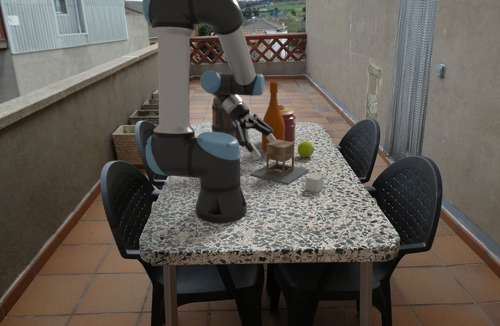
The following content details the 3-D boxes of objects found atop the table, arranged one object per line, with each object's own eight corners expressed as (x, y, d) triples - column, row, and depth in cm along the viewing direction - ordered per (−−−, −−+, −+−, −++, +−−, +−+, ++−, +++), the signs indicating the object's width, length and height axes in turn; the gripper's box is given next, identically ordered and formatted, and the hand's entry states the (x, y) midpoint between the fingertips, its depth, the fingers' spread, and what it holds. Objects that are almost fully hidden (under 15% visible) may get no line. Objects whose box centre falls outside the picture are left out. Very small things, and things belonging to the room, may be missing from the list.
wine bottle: (288, 153, 168) (290, 82, 158) (267, 155, 165) (267, 83, 155) (278, 146, 177) (279, 79, 167) (258, 149, 173) (258, 80, 163)
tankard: (211, 133, 199) (210, 93, 193) (244, 133, 198) (244, 93, 191) (201, 147, 177) (199, 103, 171) (238, 147, 176) (238, 103, 169)
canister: (285, 147, 176) (286, 108, 170) (261, 142, 183) (261, 105, 177) (300, 140, 185) (301, 103, 179) (277, 136, 193) (277, 100, 187)
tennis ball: (301, 153, 168) (301, 138, 165) (315, 156, 164) (316, 140, 162) (294, 157, 162) (295, 142, 160) (309, 160, 159) (310, 144, 157)
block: (305, 189, 132) (305, 177, 130) (310, 185, 135) (311, 173, 134) (317, 192, 129) (318, 180, 128) (323, 188, 133) (323, 175, 131)
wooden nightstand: (266, 172, 145) (266, 144, 141) (276, 166, 151) (277, 139, 147) (283, 176, 141) (284, 147, 137) (293, 170, 147) (294, 142, 143)
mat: (250, 175, 144) (250, 173, 144) (273, 162, 157) (273, 161, 157) (288, 184, 136) (288, 183, 136) (309, 170, 148) (309, 169, 148)
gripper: (249, 108, 162) (279, 149, 159) (209, 120, 143) (243, 167, 140) (260, 97, 157) (291, 139, 155) (220, 108, 138) (255, 156, 135)
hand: (268, 153), depth 147 cm, fingers open, 13 cm apart
